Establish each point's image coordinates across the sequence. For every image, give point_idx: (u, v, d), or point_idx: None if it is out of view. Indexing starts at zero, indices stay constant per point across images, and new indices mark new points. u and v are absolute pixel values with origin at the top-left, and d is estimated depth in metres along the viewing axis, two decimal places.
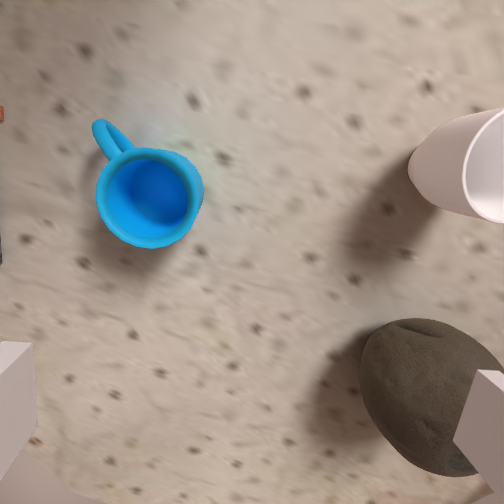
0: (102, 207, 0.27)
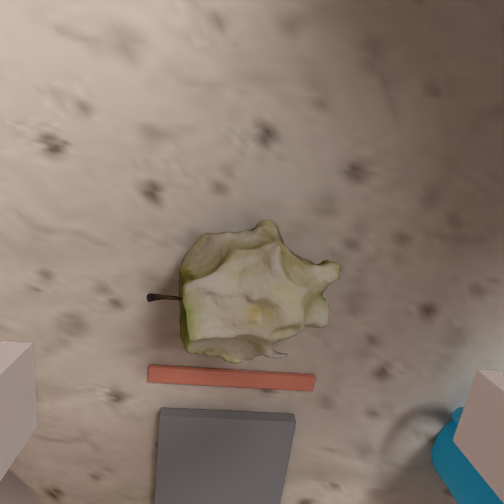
0: None
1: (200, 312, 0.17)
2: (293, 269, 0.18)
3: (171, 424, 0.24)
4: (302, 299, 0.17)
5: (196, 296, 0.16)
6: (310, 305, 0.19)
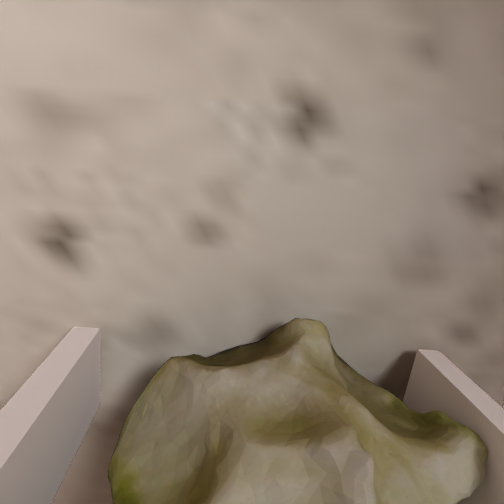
0: None
1: None
2: (396, 488, 0.07)
3: None
4: None
5: None
6: None
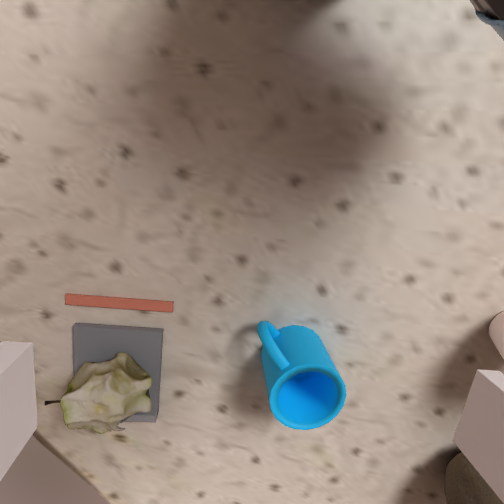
0: (273, 404, 0.35)
1: (71, 409, 0.34)
2: (122, 384, 0.35)
3: (80, 331, 0.39)
4: (122, 401, 0.35)
5: (68, 402, 0.34)
6: (135, 401, 0.36)
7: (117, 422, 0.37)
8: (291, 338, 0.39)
